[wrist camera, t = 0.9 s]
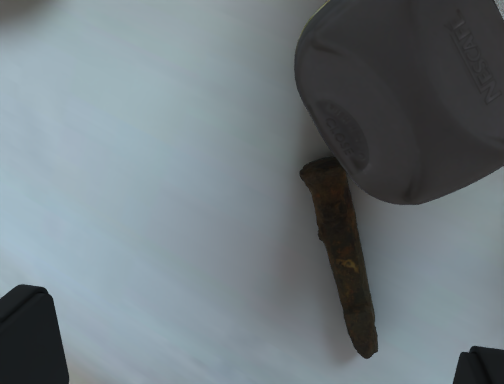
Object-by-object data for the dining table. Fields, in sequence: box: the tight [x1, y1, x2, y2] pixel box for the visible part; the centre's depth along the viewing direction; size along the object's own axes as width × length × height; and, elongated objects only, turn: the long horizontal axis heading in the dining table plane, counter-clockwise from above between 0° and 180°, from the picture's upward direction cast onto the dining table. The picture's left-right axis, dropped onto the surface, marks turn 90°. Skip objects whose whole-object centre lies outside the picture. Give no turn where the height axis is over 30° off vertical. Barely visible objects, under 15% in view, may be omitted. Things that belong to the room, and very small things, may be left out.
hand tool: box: [299, 157, 378, 359], centre depth 35 cm, size 19×4×5 cm, turn 14°
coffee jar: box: [294, 0, 504, 205], centre depth 23 cm, size 10×8×19 cm
